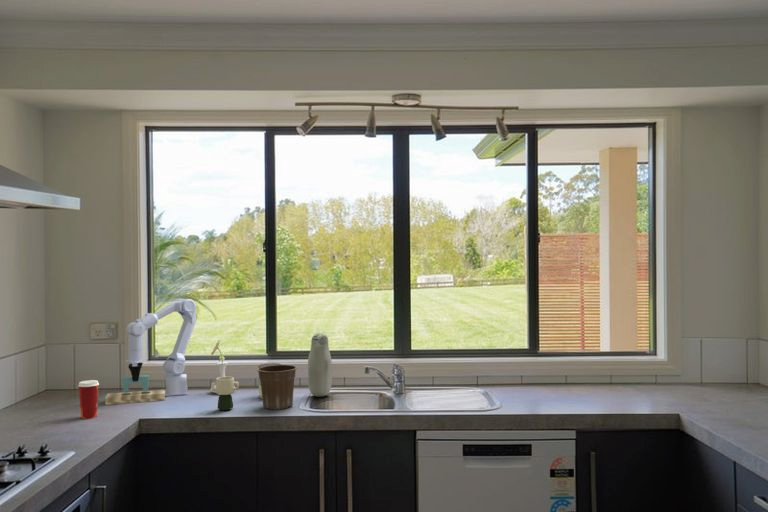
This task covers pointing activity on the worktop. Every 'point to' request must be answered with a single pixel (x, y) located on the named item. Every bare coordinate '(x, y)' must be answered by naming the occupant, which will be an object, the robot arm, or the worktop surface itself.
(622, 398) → the worktop surface
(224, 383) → the character mug
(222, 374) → the flower in vase
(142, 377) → the staple
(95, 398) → the paper cup
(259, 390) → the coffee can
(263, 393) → the plant pot
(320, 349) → the white tall rounded figure
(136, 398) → the tan segmented bar
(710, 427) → the worktop surface
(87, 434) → the worktop surface
